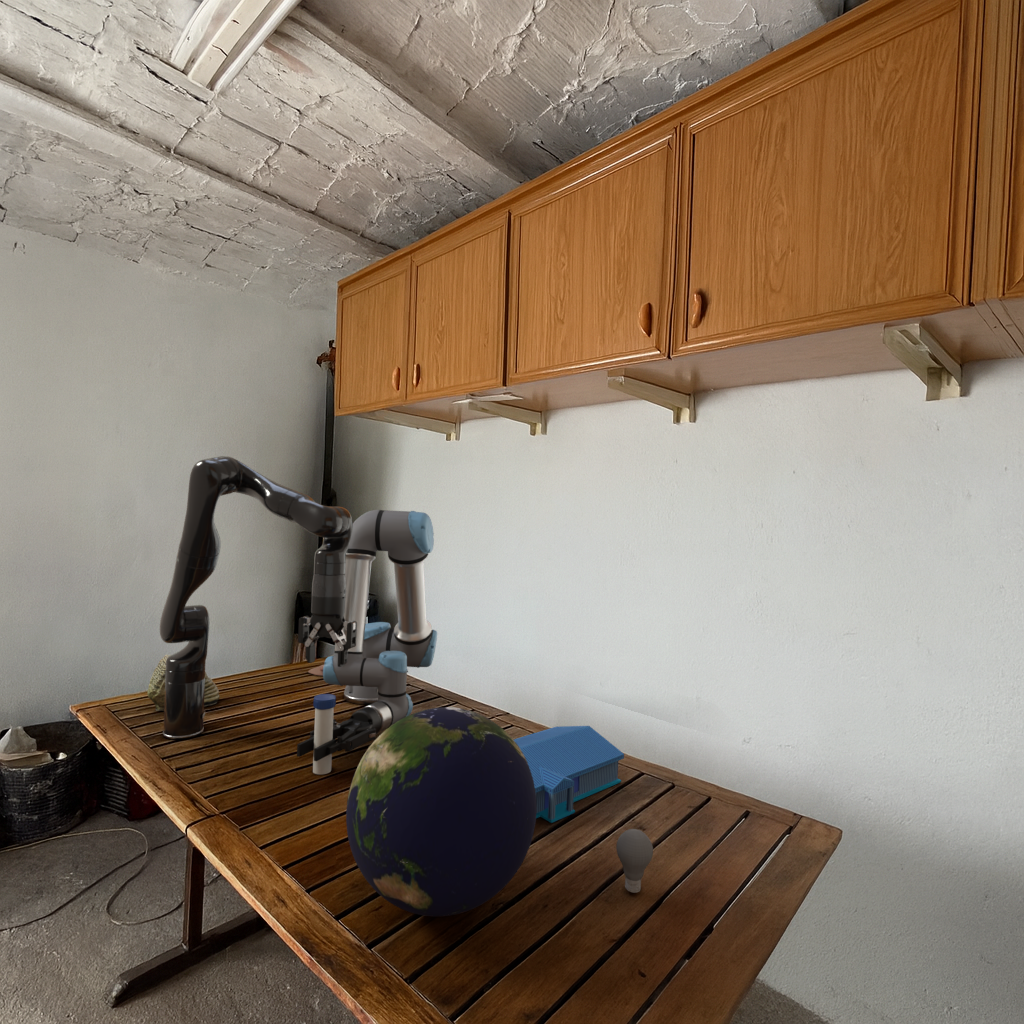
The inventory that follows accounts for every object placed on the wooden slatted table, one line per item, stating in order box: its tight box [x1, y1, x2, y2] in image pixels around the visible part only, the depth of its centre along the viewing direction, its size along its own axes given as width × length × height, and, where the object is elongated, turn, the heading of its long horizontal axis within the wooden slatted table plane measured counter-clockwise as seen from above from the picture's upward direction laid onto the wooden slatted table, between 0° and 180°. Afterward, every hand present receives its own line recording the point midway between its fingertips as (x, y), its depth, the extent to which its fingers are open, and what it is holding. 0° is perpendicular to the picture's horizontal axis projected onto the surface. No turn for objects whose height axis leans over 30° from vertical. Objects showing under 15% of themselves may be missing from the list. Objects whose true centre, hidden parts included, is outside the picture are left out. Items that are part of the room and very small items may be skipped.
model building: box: [513, 725, 625, 824], centre depth 140 cm, size 39×24×10 cm, turn 132°
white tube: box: [312, 707, 335, 776], centre depth 146 cm, size 4×4×17 cm
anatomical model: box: [308, 664, 324, 677], centre depth 227 cm, size 13×4×12 cm
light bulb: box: [615, 828, 654, 894], centre depth 106 cm, size 6×6×10 cm
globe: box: [345, 706, 537, 918], centre depth 101 cm, size 30×30×30 cm
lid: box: [312, 693, 337, 709], centre depth 146 cm, size 5×5×2 cm
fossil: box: [147, 654, 221, 712], centre depth 185 cm, size 9×18×15 cm, turn 132°
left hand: (326, 664), depth 146 cm, fingers open, 7 cm apart
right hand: (307, 752), depth 141 cm, fingers closed on white tube, 4 cm apart
